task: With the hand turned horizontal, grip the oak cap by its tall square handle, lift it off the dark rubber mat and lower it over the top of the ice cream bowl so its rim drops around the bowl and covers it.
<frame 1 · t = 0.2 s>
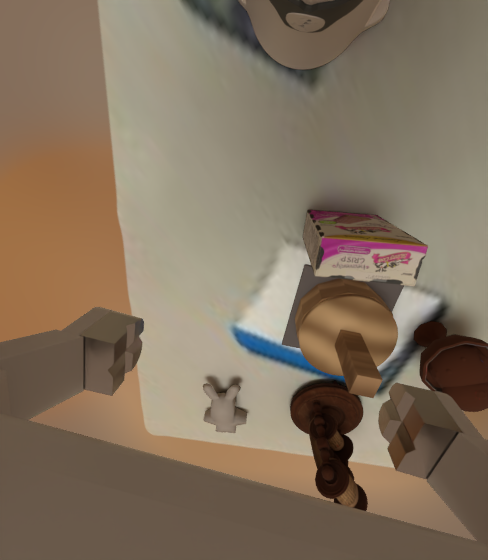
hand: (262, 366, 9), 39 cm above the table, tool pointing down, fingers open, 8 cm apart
bunny figurine: (226, 399, 64), on the table
oak lid: (338, 317, 51), resting on mat
mat: (338, 315, 52), on the table
candy bar box: (338, 225, 45), on the table
turned wooden statuette: (324, 402, 61), on the table
ice cream bowl: (429, 333, 52), on the table
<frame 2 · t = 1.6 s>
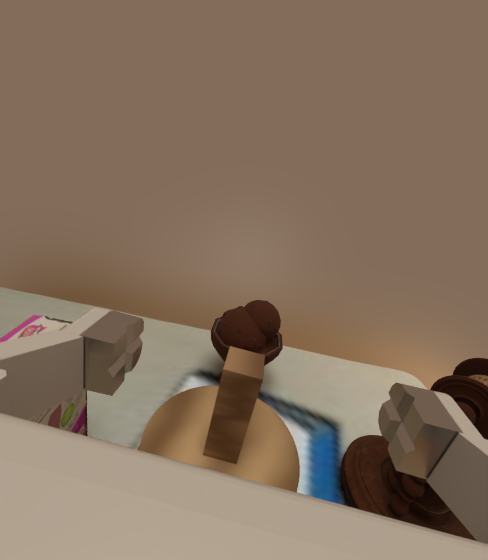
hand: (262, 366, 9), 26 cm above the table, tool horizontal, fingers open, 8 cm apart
oak lid: (210, 487, 30), resting on mat
candy bar box: (29, 501, 26), on the table
turned wooden statuette: (399, 508, 33), on the table
ice cream bowl: (234, 382, 46), on the table
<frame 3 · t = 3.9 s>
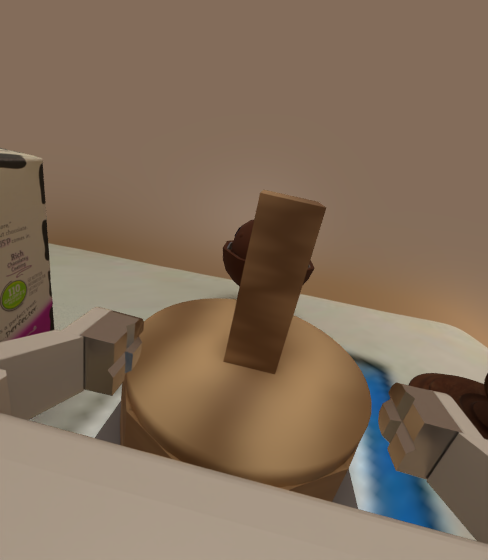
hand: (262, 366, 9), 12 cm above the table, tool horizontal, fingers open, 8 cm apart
oak lid: (232, 426, 21), resting on mat
mat: (231, 431, 21), on the table
turned wooden statuette: (487, 458, 24), on the table
ice cream bowl: (251, 323, 37), on the table
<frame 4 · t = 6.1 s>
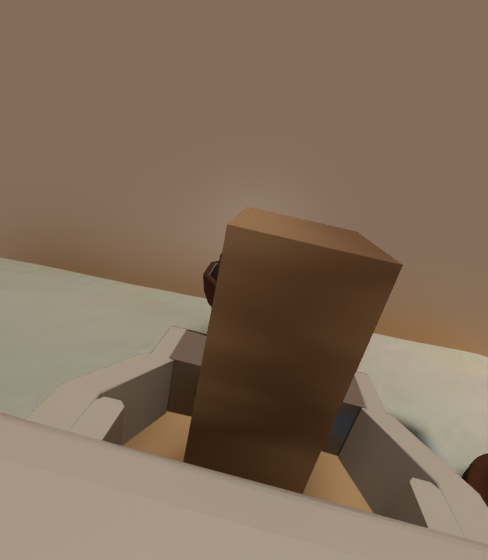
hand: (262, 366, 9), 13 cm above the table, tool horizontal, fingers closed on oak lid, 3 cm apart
ice cream bowl: (243, 366, 29), on the table
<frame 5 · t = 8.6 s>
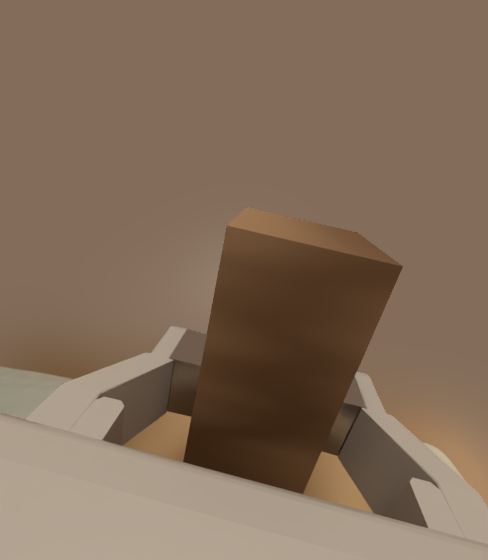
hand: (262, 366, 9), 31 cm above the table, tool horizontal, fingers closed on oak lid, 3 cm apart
when the fingers open (27 cm above the table, at t = 10.8 s): oak lid drops 6 cm, resting on ice cream bowl.
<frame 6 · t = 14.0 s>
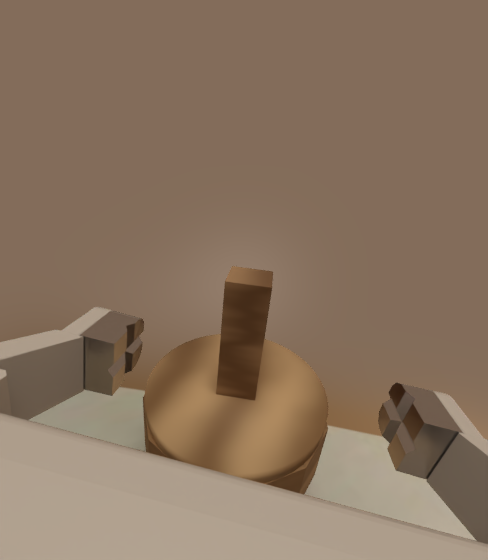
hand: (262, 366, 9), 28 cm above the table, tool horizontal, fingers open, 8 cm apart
oak lid: (231, 438, 27), point 10 cm above the table, tilted 6°, touching ice cream bowl
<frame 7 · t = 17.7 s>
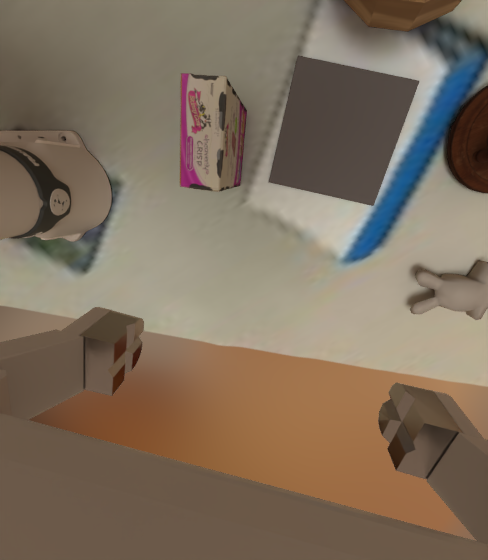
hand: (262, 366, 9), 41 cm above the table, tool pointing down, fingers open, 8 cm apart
bunny figurine: (451, 285, 48), on the table
mat: (337, 136, 42), on the table
candy bar box: (228, 148, 45), on the table
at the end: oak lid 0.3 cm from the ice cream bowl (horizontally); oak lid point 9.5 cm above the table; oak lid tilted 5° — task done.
